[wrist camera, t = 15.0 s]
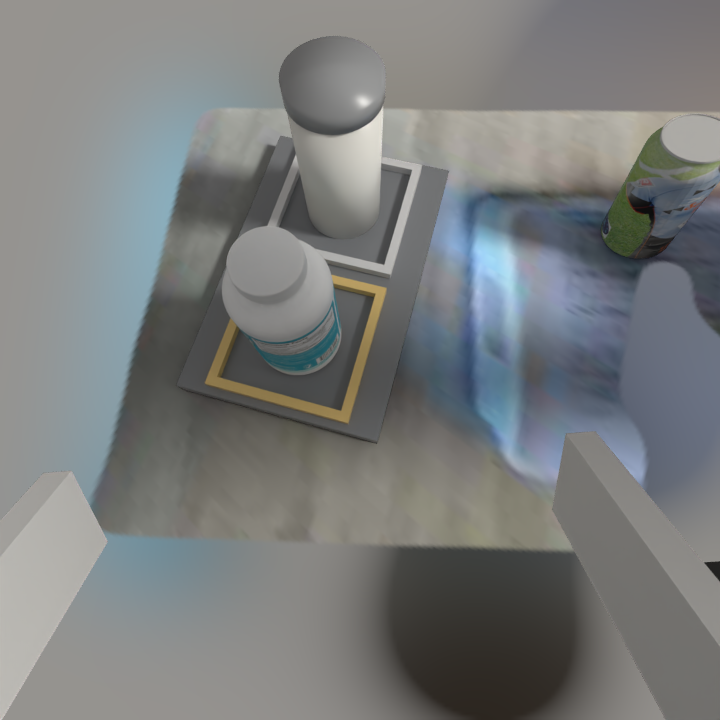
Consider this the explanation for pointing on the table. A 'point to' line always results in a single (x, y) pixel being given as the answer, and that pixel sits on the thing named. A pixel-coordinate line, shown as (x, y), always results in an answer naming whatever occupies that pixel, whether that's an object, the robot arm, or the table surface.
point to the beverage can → (664, 186)
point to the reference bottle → (337, 130)
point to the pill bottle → (282, 300)
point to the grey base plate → (353, 296)
